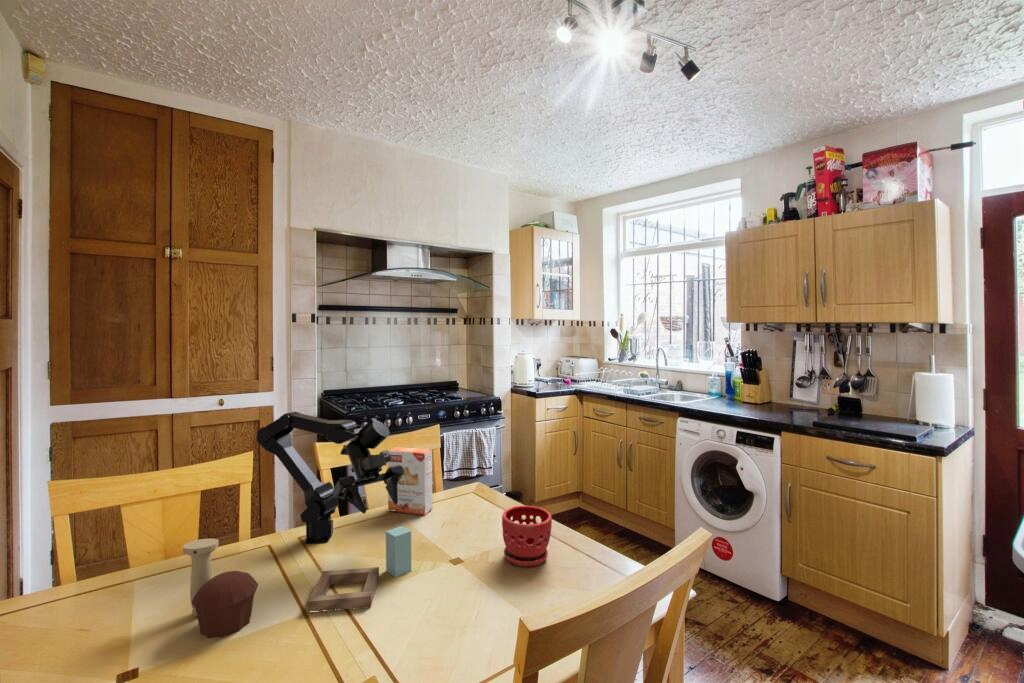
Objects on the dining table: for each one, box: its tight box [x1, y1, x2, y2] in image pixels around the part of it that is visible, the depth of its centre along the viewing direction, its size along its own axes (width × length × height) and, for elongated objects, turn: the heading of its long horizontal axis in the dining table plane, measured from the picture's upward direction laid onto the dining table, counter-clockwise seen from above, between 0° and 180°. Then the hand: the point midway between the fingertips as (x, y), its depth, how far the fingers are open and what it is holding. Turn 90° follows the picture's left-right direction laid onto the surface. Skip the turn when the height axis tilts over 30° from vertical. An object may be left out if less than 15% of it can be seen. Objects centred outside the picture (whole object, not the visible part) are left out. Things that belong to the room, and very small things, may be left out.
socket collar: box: [307, 566, 380, 613], centre depth 107 cm, size 13×13×2 cm
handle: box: [182, 538, 220, 617], centre depth 99 cm, size 5×6×15 cm
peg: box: [385, 526, 412, 578], centre depth 117 cm, size 4×4×10 cm
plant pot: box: [501, 505, 553, 567], centre depth 123 cm, size 13×13×12 cm
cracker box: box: [387, 446, 433, 516], centre depth 158 cm, size 14×6×21 cm, turn 73°
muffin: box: [190, 570, 259, 639], centre depth 96 cm, size 12×11×10 cm
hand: (381, 508), depth 123 cm, fingers open, 9 cm apart
